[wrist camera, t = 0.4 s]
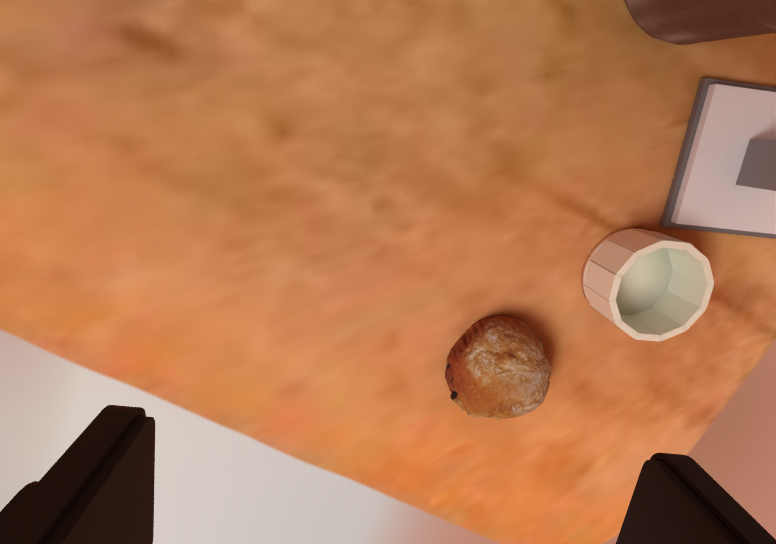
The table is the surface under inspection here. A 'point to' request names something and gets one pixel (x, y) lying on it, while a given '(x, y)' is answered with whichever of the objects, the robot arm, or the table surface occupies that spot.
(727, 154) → the lid
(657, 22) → the plant pot
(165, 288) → the table surface
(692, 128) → the mat
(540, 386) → the bread roll
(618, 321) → the bowl
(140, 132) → the table surface
